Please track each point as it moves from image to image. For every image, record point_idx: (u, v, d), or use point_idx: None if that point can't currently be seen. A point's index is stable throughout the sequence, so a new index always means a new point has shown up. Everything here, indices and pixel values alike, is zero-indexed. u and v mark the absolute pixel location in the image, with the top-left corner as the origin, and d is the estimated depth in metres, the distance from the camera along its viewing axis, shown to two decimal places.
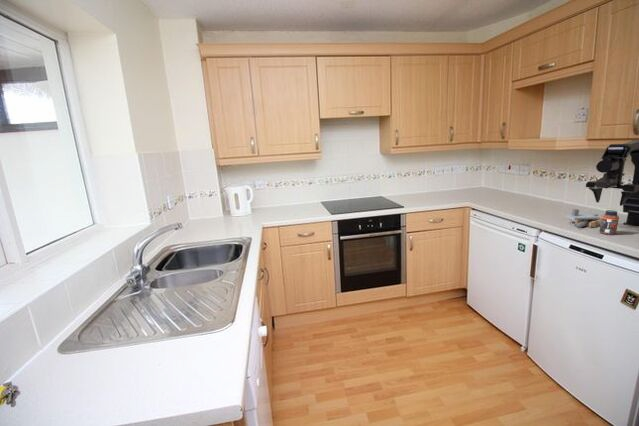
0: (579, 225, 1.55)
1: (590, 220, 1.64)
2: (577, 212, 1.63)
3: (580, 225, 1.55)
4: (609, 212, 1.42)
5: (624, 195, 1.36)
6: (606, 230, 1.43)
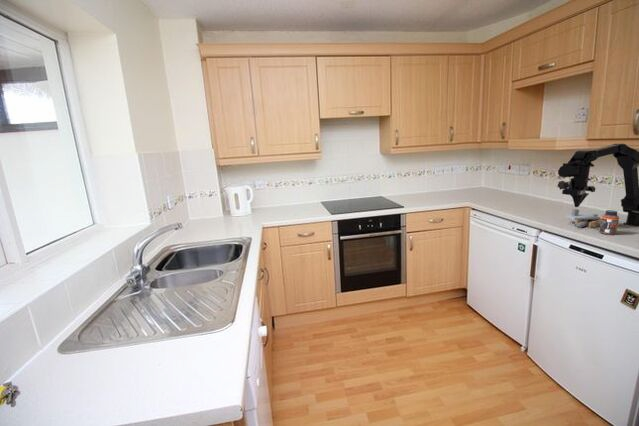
0: (579, 225, 1.55)
1: (590, 220, 1.64)
2: (577, 212, 1.63)
3: (580, 225, 1.55)
4: (609, 212, 1.42)
5: None
6: (606, 230, 1.43)
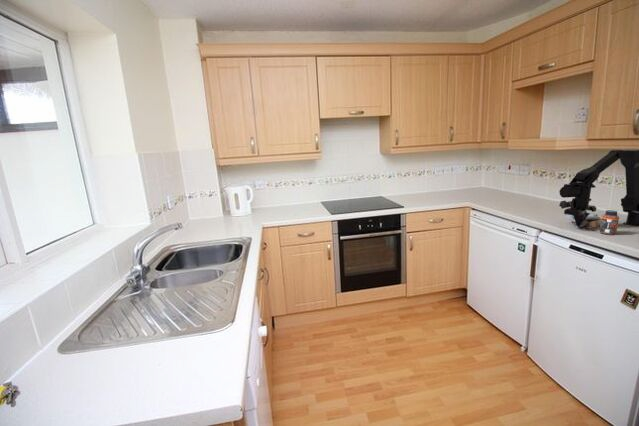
0: None
1: (590, 220, 1.64)
2: None
3: (580, 225, 1.55)
4: (609, 212, 1.42)
5: None
6: (606, 230, 1.43)
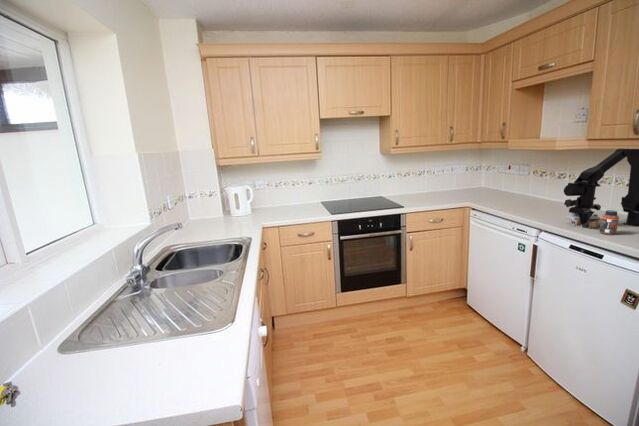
0: None
1: None
2: None
3: (585, 223, 1.57)
4: (609, 212, 1.42)
5: None
6: (606, 230, 1.43)
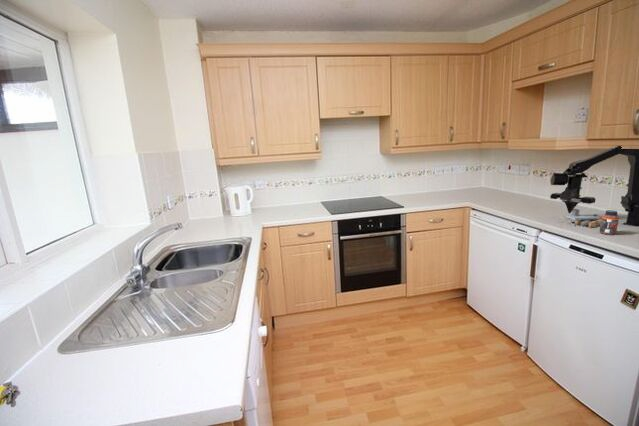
0: (584, 223, 1.57)
1: None
2: (577, 212, 1.63)
3: (585, 223, 1.57)
4: (609, 212, 1.42)
5: (572, 205, 1.64)
6: (606, 230, 1.43)
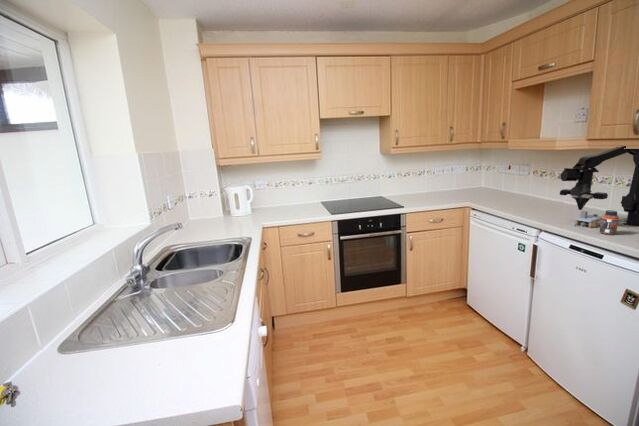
0: (583, 223, 1.58)
1: None
2: (586, 214, 1.58)
3: (584, 223, 1.57)
4: (609, 212, 1.42)
5: (583, 201, 1.57)
6: (606, 230, 1.43)
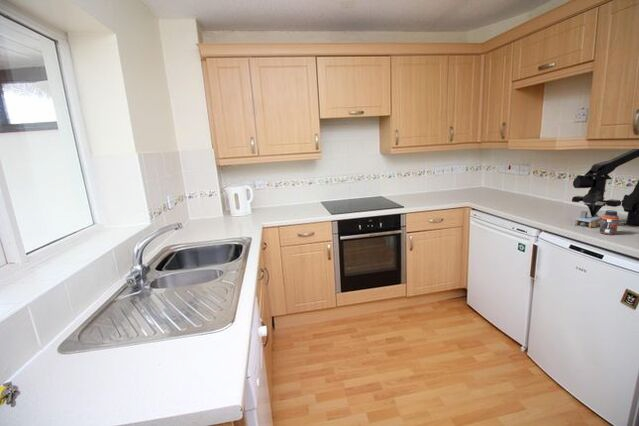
0: (583, 223, 1.58)
1: None
2: (586, 214, 1.58)
3: (584, 223, 1.57)
4: (609, 212, 1.42)
5: (596, 208, 1.57)
6: (606, 230, 1.43)
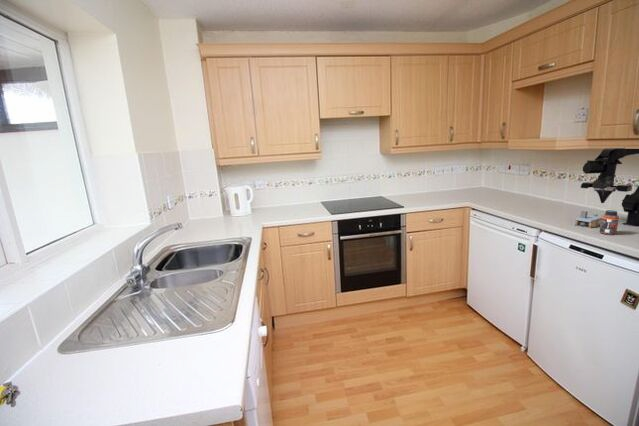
0: (583, 223, 1.58)
1: None
2: (586, 214, 1.58)
3: (584, 223, 1.58)
4: (609, 212, 1.42)
5: (606, 194, 1.54)
6: (606, 230, 1.43)
